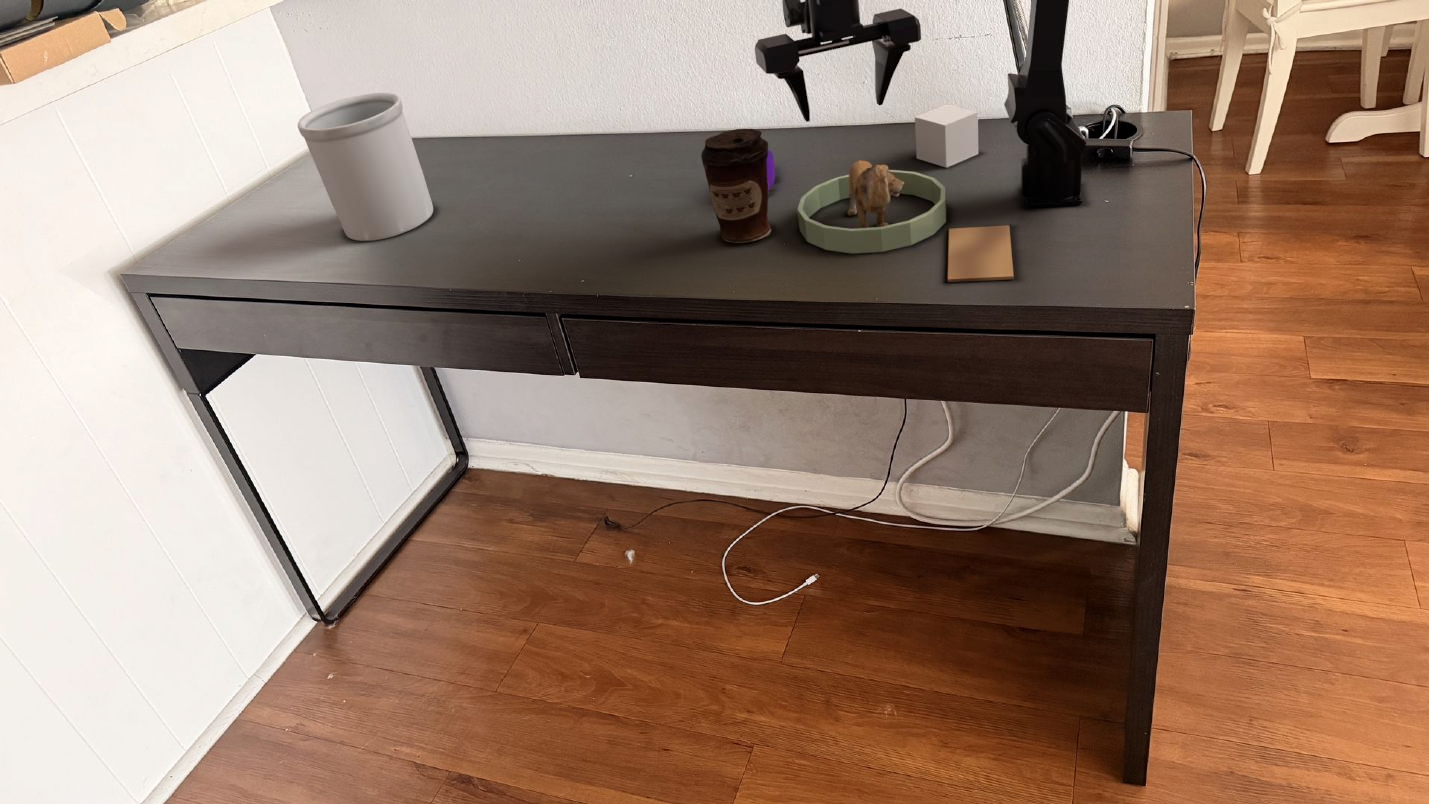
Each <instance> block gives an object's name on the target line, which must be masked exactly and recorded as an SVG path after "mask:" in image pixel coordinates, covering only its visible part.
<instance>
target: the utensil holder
mask: <svg viewBox="0 0 1429 804" xmlns="http://www.w3.org/2000/svg"><path fill="white" fill-rule="evenodd" d="M403 110H404V109H403V102H402V100H401V98H400V96H399V95H397V94H395V93H391V92H373V93H367V94H366V93H365V94H359V95H355V96H350V97H346V98H342V99H339V100H335V101H333V102H330V103H327V104H324V105H322V106H319V107H317V108H315V109H313V110H311V111H309V112H307V113H306V114H304V115H303V116H301V118H300V119H299V120H298V122H297V128H298V129H297V130H298V132H299V133H300V135H301V136H302V137H303V139H304V141H305V143H306V146H307V148H308V151H309V153H310V156H311V157H312V158H311V159H312V161H313V162H314V165H315V167H316V169H317V171H318V174H319V177H320V179H321V181H322V183H323V186H324V188H325V191H326V193H327V195H328V198H329V201H330V203H331V205H332V207H333V209H334V211H335V213H336V216H337V218H338V221H339V223H340V225H341V227H342V231H343V232H344V234H345V235H346V237H347V238H349V239H351V240H353V241H357V242H359V241H360V242H371V241H380V240H386V239H389V238H393V237H396V236H399V235H401V234H404V233H406V232H409V231H411V230H414V229H415V228H417V227H419V226H422V224H424V223H426V222H427V220H429V219H430V218H431V217H432V215H433V213H434V206H433V201H432V199H431V196H430V191H429V189H428V186H427V182H426V179H425V175H424V172H423V170H422V169H423V168H422V166H421V164H420V160H419V157H418V154H417V151H416V147H415V145H414V141H413V139H412V136H411V133H410V129H409V127H408V124H407V121H406V118H405V115H404V112H403Z"/></svg>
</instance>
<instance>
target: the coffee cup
mask: <svg viewBox="0 0 1429 804" xmlns="http://www.w3.org/2000/svg"><path fill="white" fill-rule="evenodd" d="M762 134H763V132H762V131H761V130H757V129H754V128H736V129H732V130H728V131H722V132H720V133H719V134H717V135H712V136H710V137H708V138H706V139H705V140H704V148H703V149H702V151H701V154H700V159H701V162H702V166H703V168H704V172H705V178H706V181H707V185H708V186H707V187H708V191H709V194H710V198H711V202H712V207H713V211H714V213H715V217H716V220H717V223H718V226H719V229H720V230H719V231H720V236H721V238H722V239H723V240H724V241H725V242H728V243H734V244H744V243H750V242H754V241H758V240H761V239H763V238H765V237H768V236H770V235H771V232H772V228H771V225H770V223H769V219H768V217H769V216H768V211H769V197H770V192H769V191H770V190H769V183H768V176H767V157H768V150H769V142H768V141H767V140H766V139H764V138H762Z"/></svg>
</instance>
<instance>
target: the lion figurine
mask: <svg viewBox="0 0 1429 804" xmlns="http://www.w3.org/2000/svg"><path fill="white" fill-rule="evenodd" d="M889 170H890V169H889V166H888V165H886V164H876V165H872V164H871V163H870V162H869V161H866V160H861V159H859V160H858V161H856V162H854V163H853V164H852V165H851V167H850V170H849V173H848V175H849V190H850V194H849V196H850V200H849V201H850V202H849V203H850V204H849V209H848V211H847V215H848V216H855V215H857V218H858V222H859V228H870V226H869V224H868V220H867V212H868V213H870V214H876V219H875V224H876V227H883V226H887V225H889V223H888V222H885V211H886V207H887V205H888V204H889V203H890V202H891V196H893V197H896V198H897V197H899V196H900V193H899V192H900V190H901V189H902V186H903V184H904V182H903V181H901V180H899V179H897V178H896V177H895V176H894V175H893V174H891V173H889Z"/></svg>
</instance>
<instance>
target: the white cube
mask: <svg viewBox="0 0 1429 804" xmlns="http://www.w3.org/2000/svg"><path fill="white" fill-rule="evenodd" d="M914 131H915V132H914V133H915V151H916V160H917V159H918V160H921V161H924V162H927V163H931V164H934V165H937V166H940V167H942V168H946V169H947V168H949V167H951V166H954V165H957V164H958V163H961V162H964V161H966V160H967V159H968V160H969V159H970V158H972V157H975V156H978V155H979V112H978V111H976V110H972V109H968V108H963V107H959V106H955V105H952V104H947V103H946V104H944V105H942V106H939V107H936V108H934V109H931V110H929V111H926V112H924V113H921V114H919V115H917V116H914Z"/></svg>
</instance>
